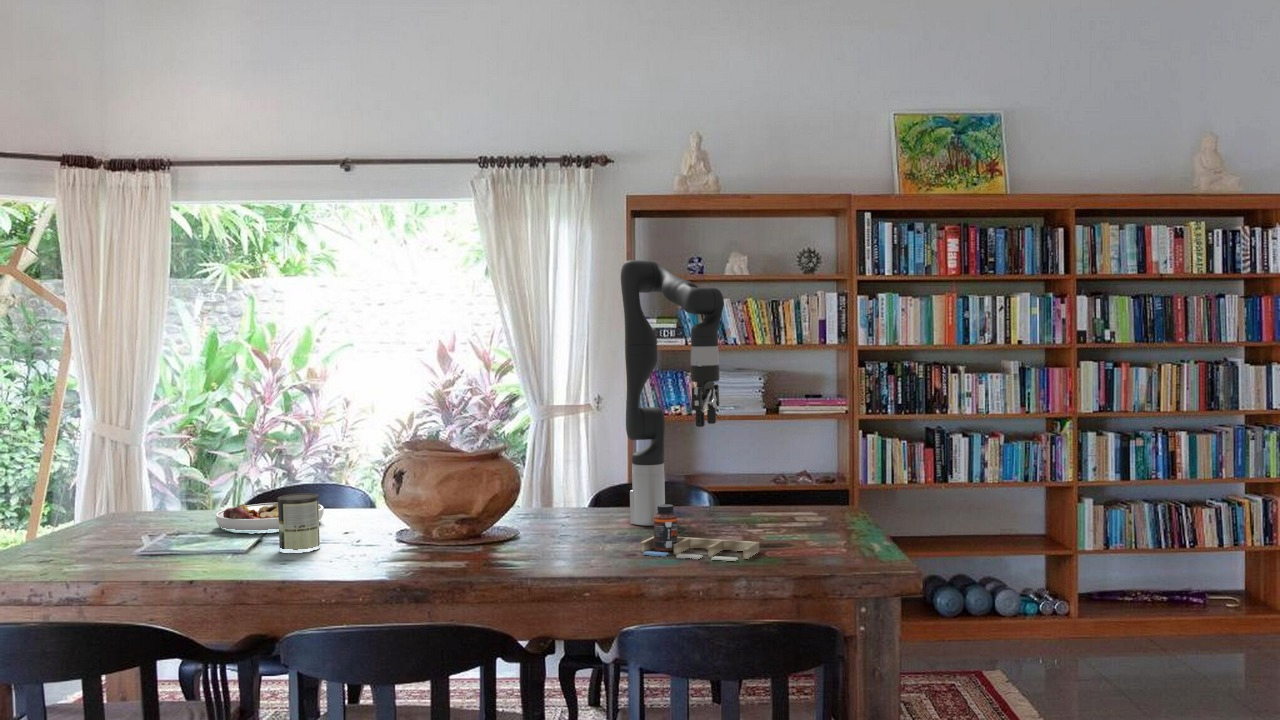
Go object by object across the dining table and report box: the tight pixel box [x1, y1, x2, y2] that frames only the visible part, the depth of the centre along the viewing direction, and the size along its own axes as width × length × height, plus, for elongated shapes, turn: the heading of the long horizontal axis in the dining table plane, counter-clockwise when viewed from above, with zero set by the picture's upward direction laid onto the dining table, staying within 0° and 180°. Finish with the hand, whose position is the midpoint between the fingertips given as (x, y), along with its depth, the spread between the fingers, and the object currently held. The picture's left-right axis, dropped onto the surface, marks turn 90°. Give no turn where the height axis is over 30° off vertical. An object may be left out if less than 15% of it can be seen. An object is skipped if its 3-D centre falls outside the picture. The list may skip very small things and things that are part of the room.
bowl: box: [215, 502, 325, 530], centre depth 319 cm, size 30×30×8 cm
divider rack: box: [639, 535, 760, 560], centre depth 270 cm, size 28×10×2 cm, turn 66°
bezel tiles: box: [642, 550, 739, 562], centre depth 263 cm, size 24×2×1 cm, turn 66°
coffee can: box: [277, 492, 321, 550], centre depth 283 cm, size 10×10×14 cm
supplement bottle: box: [653, 503, 679, 553], centre depth 273 cm, size 6×6×11 cm
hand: (706, 425), depth 286 cm, fingers open, 8 cm apart
